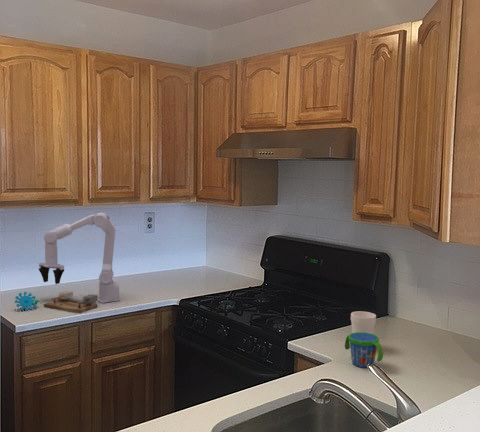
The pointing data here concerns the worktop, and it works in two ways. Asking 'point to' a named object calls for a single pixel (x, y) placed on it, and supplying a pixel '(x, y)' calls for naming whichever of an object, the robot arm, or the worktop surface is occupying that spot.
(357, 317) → the foam cup
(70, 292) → the slider
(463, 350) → the worktop surface
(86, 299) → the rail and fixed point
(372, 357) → the snack cup
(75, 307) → the hole board
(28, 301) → the gear
